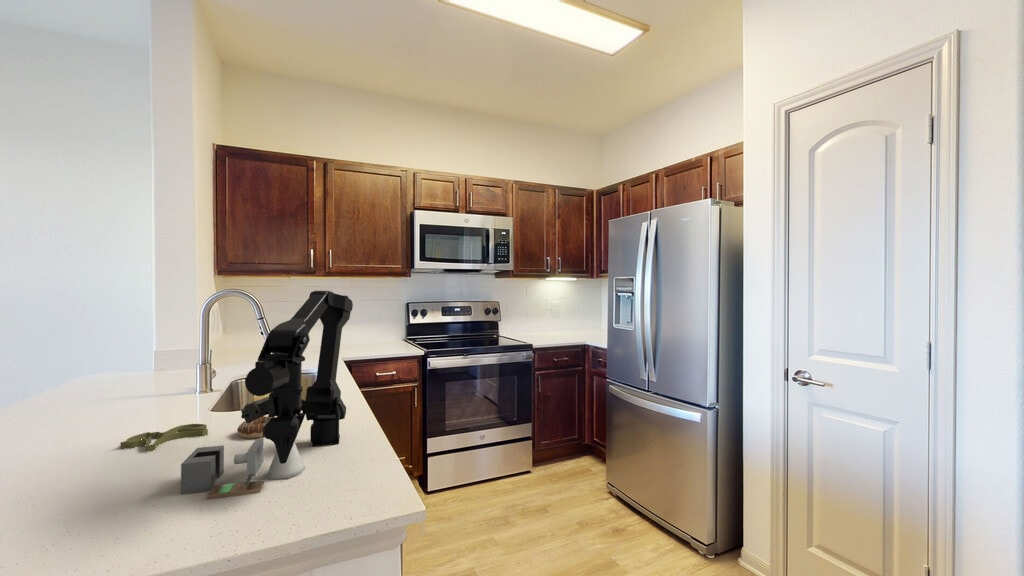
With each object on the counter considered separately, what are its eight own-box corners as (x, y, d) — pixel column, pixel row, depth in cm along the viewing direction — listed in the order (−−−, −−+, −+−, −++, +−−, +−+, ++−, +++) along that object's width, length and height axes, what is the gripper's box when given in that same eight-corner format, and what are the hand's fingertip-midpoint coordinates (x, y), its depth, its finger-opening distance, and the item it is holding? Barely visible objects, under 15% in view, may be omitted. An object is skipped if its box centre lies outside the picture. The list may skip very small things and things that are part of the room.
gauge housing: (272, 466, 98) (272, 440, 98) (260, 492, 86) (260, 462, 86) (196, 475, 93) (197, 448, 93) (172, 504, 81) (172, 472, 81)
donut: (289, 429, 125) (289, 415, 125) (262, 441, 115) (262, 426, 115) (257, 426, 127) (257, 413, 127) (227, 439, 117) (227, 424, 117)
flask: (289, 481, 91) (289, 434, 91) (259, 478, 92) (259, 431, 92) (311, 467, 98) (311, 424, 98) (283, 464, 100) (284, 421, 100)
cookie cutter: (138, 456, 105) (138, 448, 105) (114, 448, 110) (114, 440, 110) (216, 434, 121) (216, 427, 121) (192, 428, 126) (192, 421, 126)
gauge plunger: (263, 461, 97) (263, 438, 97) (250, 484, 86) (251, 458, 86) (239, 464, 96) (240, 440, 96) (224, 487, 84) (224, 461, 84)
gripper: (255, 378, 101) (254, 444, 101) (233, 398, 84) (232, 478, 84) (307, 375, 105) (306, 439, 105) (296, 393, 88) (296, 470, 88)
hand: (286, 455), depth 95 cm, fingers open, 9 cm apart
